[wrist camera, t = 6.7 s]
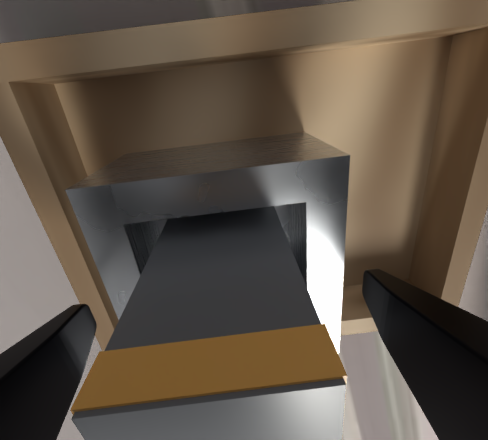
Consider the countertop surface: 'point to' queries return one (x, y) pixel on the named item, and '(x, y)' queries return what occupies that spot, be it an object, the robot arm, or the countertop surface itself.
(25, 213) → the countertop surface
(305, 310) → the block
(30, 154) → the oak box
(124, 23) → the countertop surface
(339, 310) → the socket
